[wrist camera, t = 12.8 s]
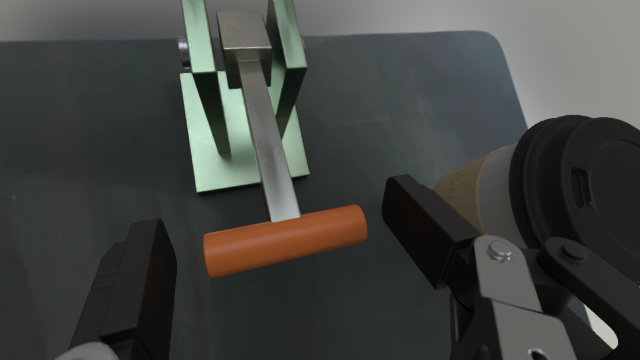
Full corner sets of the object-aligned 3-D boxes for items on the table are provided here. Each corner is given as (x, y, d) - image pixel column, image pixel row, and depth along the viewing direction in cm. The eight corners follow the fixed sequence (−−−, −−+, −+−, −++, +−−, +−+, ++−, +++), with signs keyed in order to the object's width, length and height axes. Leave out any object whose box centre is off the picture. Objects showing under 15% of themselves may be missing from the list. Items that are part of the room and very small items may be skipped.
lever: (356, 249, 12) (376, 229, 10) (214, 284, 10) (201, 270, 8) (289, 51, 17) (293, 10, 15) (189, 54, 15) (178, 10, 13)
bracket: (306, 177, 25) (361, 119, 13) (198, 195, 23) (144, 144, 11) (285, 74, 27) (317, -62, 15) (182, 80, 24) (118, -77, 12)
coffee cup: (370, 190, 27) (513, 133, 12) (447, 158, 29) (635, 81, 15) (413, 287, 26) (619, 345, 12) (487, 244, 29) (727, 248, 14)
